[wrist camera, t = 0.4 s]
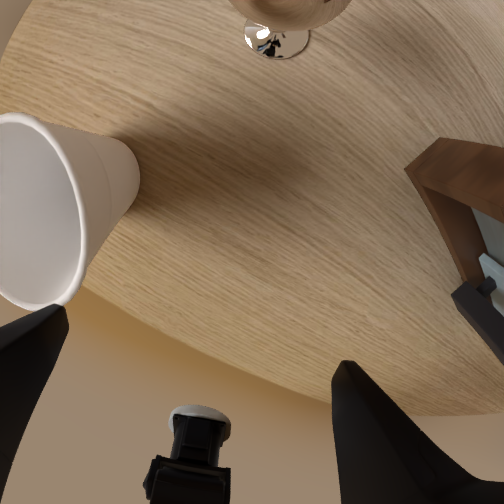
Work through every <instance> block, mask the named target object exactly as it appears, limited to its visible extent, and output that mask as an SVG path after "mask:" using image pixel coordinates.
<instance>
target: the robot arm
mask: <svg viewBox="0 0 504 504" xmlns="http://www.w3.org/2000/svg"><path fill="white" fill-rule="evenodd" d="M68 331H69V323H68V319H67V314H66V309H65V308H64V307H63V306H62V305H59V304H55V303H54V304H51V305H49V306H46V307H44V308H42V309H40V310H37V311H35V312H33V313H31V314H28V315H26V316H24V317H22V318H19V319H17V320H15V321H13V322H11V323H8V324H6V325H4V326H2V327H0V502H1V499H2V495H3V491H4V488H5V485H6V482H7V478H8V475H9V472H10V469H11V466H12V462H13V460H14V457H15V454H16V452H17V449H18V447H19V444H20V441H21V439H22V436H23V433H24V431H25V429H26V426H27V424H28V422H29V419H30V417H31V414H32V413H33V410H34V408H35V406H36V404H37V401H38V399H39V397H40V395H41V393H42V391H43V388H44V387H45V385H46V382H47V380H48V378H49V376H50V374H51V372H52V370H53V368H54V366H55V363H56V361H57V358H58V356H59V353H60V351H61V348H62V346H63V343H64V341H65V339H66V336H67V334H68ZM331 388H332V424H333V433H334V440H335V448H336V456H337V464H338V474H339V484H340V493H341V504H504V482H495V481H485V480H481V479H478V478H476V477H474V476H472V475H471V474H469V473H468V472H467V471H466V470H465V469H463V468H462V467H461V466H460V465H459V464H457V463H456V462H455V461H454V460H453V459H451V458H450V457H449V456H448V455H447V454H446V453H444V452H443V451H442V450H441V449H440V448H439V447H438V446H437V445H435V443H433V441H432V440H430V438H428V436H427V435H426V434H425V433H424V432H423V431H420V428H419V427H418V426H417V425H416V424H415V423H414V422H413V421H412V420H411V419H410V418H409V417H408V416H407V415H406V414H405V413H404V412H403V411H402V410H401V409H400V408H399V407H398V406H397V404H396V403H395V402H394V401H393V400H392V399H391V398H390V397H389V396H388V395H387V394H386V393H385V392H384V391H383V390H382V389H381V388H380V387H379V386H378V385H377V384H376V383H375V382H374V381H373V380H372V379H371V378H370V377H369V375H368V374H367V373H366V372H365V371H364V370H363V369H362V368H361V367H360V366H359V365H358V364H357V363H356V362H355V361H349V360H343V361H341V363H340V364H339V366H338V368H337V370H336V372H335V374H334V375H333V377H332V382H331ZM173 427H174V442H173V447H172V451H171V456H170V458H166V457H162V456H161V455H157V456H156V459H152V462H151V466H150V469H149V472H148V474H147V476H146V478H145V480H144V482H143V487H144V489H145V490H146V498H147V500H150V504H229V503H230V484H231V483H230V482H231V480H230V479H231V477H230V476H231V475H230V474H231V468H227V467H226V468H221V467H218V459H219V449H220V447H222V445H223V440H224V434H225V429H226V422H224V421H218V420H211V419H205V418H199V417H193V416H187V415H182V414H174V415H173Z"/></svg>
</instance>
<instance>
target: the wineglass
mask: <svg viewBox="0 0 504 504" xmlns="http://www.w3.org/2000/svg"><path fill="white" fill-rule="evenodd" d="M351 1H352V0H229V2H230V3H231V4H232V6H233V7H234V8H235V9H236V10H237V11H238V12H239V13H240V14H241V15H242V16H244V17H245V18H247V21H246V23H245V26H244V37H245V40H246V42H247V44H248V45H249V47H250V48H251V49H252V50H253V51H254V52H256V53H257V54H259V55H261V56H264V57H266V58H270V59H286V58H290V57H292V56H294V55H296V54H298V53H299V52H301V51H302V50H303V48H304V47H305V46H306V44H307V41H308V37H309V32H308V30H311V29H314V28H317V27H320V26H322V25H325V24H327V23H328V22H330V21H332V20H333V19H334V18H336V17H337V16H338V15H340V14H341V13H342V12H343V11H344V10H345V9H346V8H347V6H348V5H349V4H350V2H351Z"/></svg>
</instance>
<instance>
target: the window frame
mask: <svg viewBox="0 0 504 504" xmlns="http://www.w3.org/2000/svg"><path fill="white" fill-rule="evenodd" d="M404 170H405V172H406V173H407V175H408V176H409V178H410V179H411V181H412V183H413V184H414V186H415V188H416V189H417V191H418V193H419V194H420V196H421V198H422V200H423V201H424V203H425V205H426V207H427V208H428V210H429V212H430V214H431V216H432V217H433V219H434V221H435V223H436V225H437V227H438V229H439V231H440V233H441V235H442V237H443V239H444V241H445V243H446V245H447V247H448V249H449V251H450V253H451V255H452V257H453V260H454V262H455V264H456V266H457V269H458V271H459V273H460V276H461V278H462V280H463V283H464V282H465V281H467V282H468V283H469V284H471V285H472V286H473V287H474V288H475V289H476V288H477V287H478V286H479V285H480V284H481V283H482V282H483V281H484V280H485V276H484V273H483V270H482V267H481V264H480V261H479V257H480V256H481V255H482V254H483V253H485V254H486V255H487V256H489V257H490V258H491V259H493V260H494V261H496V262H497V263H498V264H500V265H502V266H504V148H501V147H497V146H491V145H486V144H480V143H475V142H468V141H462V140H455V139H448V138H438V139H437V140H436V141H435V142H434V143H433V144H432V145H431V146H429V147H428V148H427V149H426V150H425V151H424V152H423V153H422V154H421V155H419V156H418V157H417V158H416V159H415V160H414V161H413V162H412V163H410V164H409V165H408V166H407V167H406V168H405V169H404ZM486 299H487V300H488V301H489V302H490V303H491V304H492V305H493V302H492V298H491V295H489V296H488V297H487V298H486Z"/></svg>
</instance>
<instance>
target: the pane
mask: <svg viewBox="0 0 504 504" xmlns="http://www.w3.org/2000/svg"><path fill="white" fill-rule="evenodd" d="M479 261H480V264H481V267H482V270H483V273H484V276H485V280H484V281H483V282H482V283H481V284H480V285H479V286H478V287H477V288H476V289H475V288H474V287H473V286H472V285H471V284H469V283H468V282H467V281H465V282H464V283H463V284H462V285H461V286H460V287H459V288H457V289H456V290H455V291H454V292H453V293H452V294H451V296H452V299H453V301H454V303H455V305H456V307H457V310H458V311H459V312H460V313H461V314H462V315H463V317H464V318H465V319H466V320H467V321H468V322H469V323H470V325H471V326H472V327H473V328H474V329H475V330H476V332H477V333H478V334H479V335H480V336H481V338H482V339H483V340H484V341H485V342H486V344H487V345H488V346H489V347H490V349H491V350H492V351H493V352H494V354H495V355H496V356H497V358H498V359H499V360H500V361H501V363H502V364H503V365H504V267H502V266H501V265H500V264H498V263H497V262H496V261H494V260H493V259H491V258H490V257H489V256H487V255H486V254H485V253H483V254H482V255H481V256H480V257H479ZM489 295H491V298H492V302H493V305H492V304H491V303H490V302H489V301H488V300H487V299H486V298H487V297H488V296H489Z"/></svg>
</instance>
